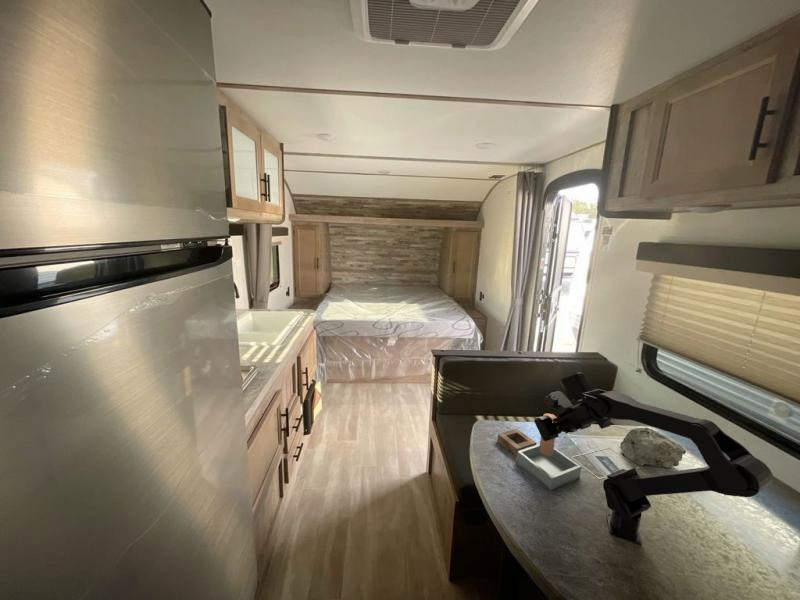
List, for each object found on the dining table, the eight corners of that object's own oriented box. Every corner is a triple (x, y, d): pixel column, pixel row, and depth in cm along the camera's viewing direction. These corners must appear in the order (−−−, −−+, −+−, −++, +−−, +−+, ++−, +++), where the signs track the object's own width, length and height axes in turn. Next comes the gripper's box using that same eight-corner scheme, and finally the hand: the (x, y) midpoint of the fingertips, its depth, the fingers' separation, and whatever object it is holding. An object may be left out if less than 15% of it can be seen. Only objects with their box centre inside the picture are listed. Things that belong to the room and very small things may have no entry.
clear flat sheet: (570, 456, 107) (609, 447, 113) (570, 458, 107) (609, 448, 113) (599, 479, 97) (640, 467, 103) (599, 480, 97) (639, 468, 103)
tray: (579, 478, 97) (581, 466, 97) (549, 490, 92) (551, 478, 91) (544, 452, 109) (545, 441, 108) (516, 462, 103) (517, 451, 103)
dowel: (553, 457, 98) (557, 421, 96) (539, 453, 99) (543, 418, 97) (552, 450, 101) (557, 415, 99) (539, 446, 103) (543, 412, 101)
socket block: (535, 450, 110) (536, 442, 109) (516, 456, 106) (517, 448, 105) (516, 435, 118) (516, 428, 117) (497, 441, 114) (498, 433, 113)
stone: (697, 459, 99) (652, 451, 98) (669, 478, 106) (627, 470, 105) (677, 431, 106) (636, 423, 105) (653, 450, 114) (614, 443, 113)
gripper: (586, 383, 97) (552, 400, 109) (543, 393, 89) (510, 410, 101) (609, 419, 91) (570, 434, 103) (564, 434, 83) (527, 447, 95)
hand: (544, 430), depth 100 cm, fingers closed on dowel, 4 cm apart
